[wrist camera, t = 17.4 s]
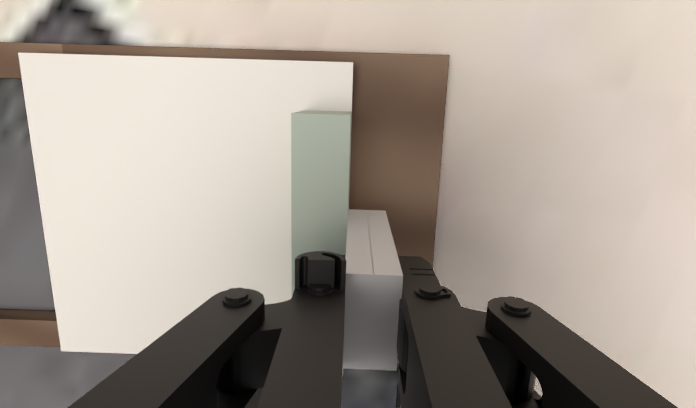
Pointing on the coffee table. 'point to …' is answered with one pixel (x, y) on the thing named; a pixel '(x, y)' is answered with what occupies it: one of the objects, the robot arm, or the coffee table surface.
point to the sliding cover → (181, 183)
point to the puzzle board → (366, 144)
